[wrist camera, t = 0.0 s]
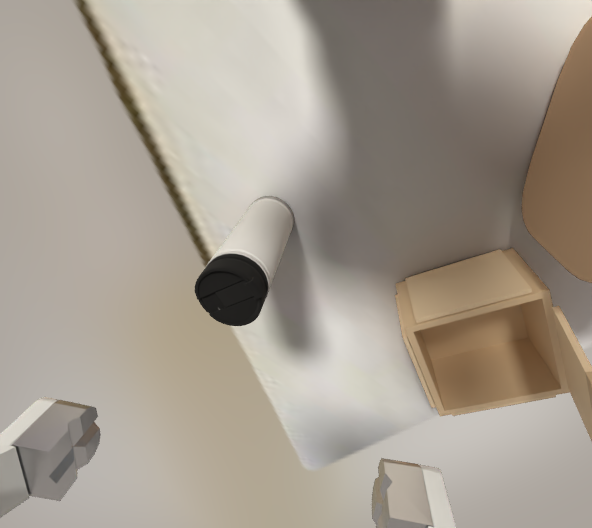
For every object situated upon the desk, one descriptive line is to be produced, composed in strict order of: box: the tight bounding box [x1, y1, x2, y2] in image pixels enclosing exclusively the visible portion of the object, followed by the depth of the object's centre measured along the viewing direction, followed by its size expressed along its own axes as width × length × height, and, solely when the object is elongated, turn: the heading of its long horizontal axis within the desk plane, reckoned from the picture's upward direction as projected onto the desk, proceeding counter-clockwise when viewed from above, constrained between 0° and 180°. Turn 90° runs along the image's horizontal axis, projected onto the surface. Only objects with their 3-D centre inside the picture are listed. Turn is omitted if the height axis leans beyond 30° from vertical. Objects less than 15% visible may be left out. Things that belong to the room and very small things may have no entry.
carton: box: [395, 248, 570, 416], centre depth 47 cm, size 16×16×10 cm
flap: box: [552, 306, 592, 441], centre depth 36 cm, size 1×12×10 cm, turn 25°
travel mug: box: [195, 196, 294, 326], centre depth 40 cm, size 6×7×20 cm
